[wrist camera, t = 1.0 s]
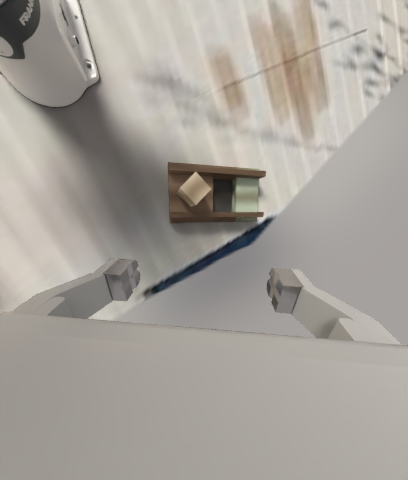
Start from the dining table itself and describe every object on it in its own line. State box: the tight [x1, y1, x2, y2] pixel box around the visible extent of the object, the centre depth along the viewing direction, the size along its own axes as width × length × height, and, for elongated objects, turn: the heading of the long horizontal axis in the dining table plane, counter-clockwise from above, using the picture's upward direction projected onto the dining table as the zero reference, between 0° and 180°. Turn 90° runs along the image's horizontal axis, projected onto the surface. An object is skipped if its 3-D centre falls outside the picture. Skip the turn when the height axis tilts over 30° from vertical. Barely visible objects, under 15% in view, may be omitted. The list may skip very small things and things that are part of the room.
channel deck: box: [168, 162, 266, 223], centre depth 40 cm, size 14×24×6 cm, turn 90°
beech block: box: [177, 172, 211, 207], centre depth 34 cm, size 4×4×8 cm
